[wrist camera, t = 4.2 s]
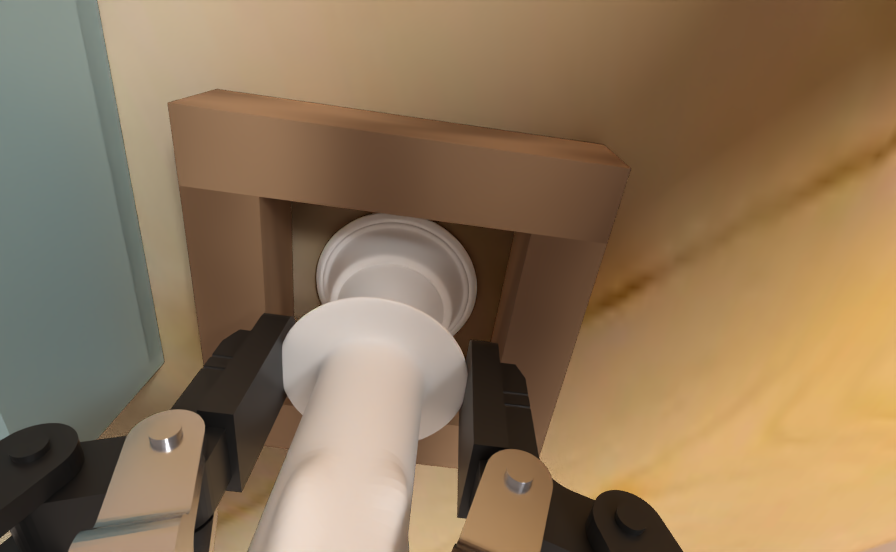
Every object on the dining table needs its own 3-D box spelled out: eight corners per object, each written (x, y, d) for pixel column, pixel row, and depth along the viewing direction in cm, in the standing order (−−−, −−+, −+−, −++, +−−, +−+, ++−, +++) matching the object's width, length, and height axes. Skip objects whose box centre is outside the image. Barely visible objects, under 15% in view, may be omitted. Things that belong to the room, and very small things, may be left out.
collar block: (604, 144, 14) (631, 168, 11) (524, 424, 19) (532, 477, 17) (216, 88, 13) (167, 102, 11) (243, 389, 18) (214, 440, 16)
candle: (289, 238, 15) (-93, 716, 5) (447, 188, 14) (402, 648, 4) (356, 364, 18) (198, 872, 7) (495, 328, 17) (549, 852, 6)
